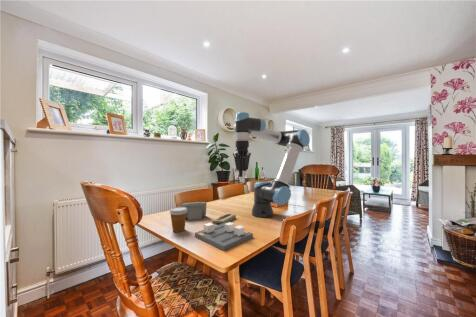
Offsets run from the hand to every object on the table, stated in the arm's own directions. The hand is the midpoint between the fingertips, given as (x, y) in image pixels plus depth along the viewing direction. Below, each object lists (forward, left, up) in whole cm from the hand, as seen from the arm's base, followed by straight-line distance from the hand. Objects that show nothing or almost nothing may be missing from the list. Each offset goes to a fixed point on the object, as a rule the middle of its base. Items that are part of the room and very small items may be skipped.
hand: (242, 182), depth 115 cm
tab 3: (+11, +8, -24) cm, 28 cm away
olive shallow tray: (-2, -17, -27) cm, 32 cm away
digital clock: (+7, -36, -27) cm, 46 cm away
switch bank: (+15, +1, -26) cm, 30 cm away
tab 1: (+19, -6, -24) cm, 31 cm away
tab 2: (+11, +1, -24) cm, 27 cm away
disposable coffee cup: (+26, -24, -27) cm, 44 cm away
